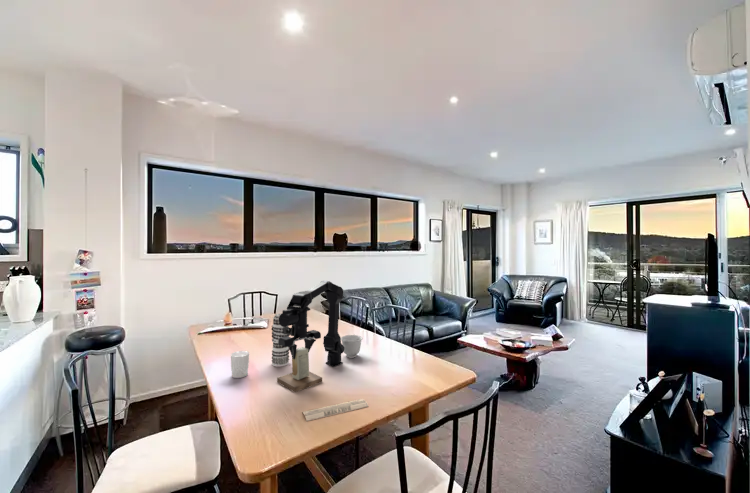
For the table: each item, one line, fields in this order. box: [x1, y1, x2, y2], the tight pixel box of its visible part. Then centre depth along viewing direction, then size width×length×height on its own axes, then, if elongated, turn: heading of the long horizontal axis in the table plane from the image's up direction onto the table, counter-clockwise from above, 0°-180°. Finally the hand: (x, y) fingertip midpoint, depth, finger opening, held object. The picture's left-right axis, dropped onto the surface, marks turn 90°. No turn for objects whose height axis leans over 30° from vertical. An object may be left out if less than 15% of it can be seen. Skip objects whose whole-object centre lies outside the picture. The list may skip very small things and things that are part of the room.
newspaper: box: [301, 398, 369, 422], centre depth 118 cm, size 24×7×2 cm, turn 117°
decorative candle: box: [270, 313, 291, 367], centre depth 165 cm, size 9×9×25 cm
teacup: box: [340, 334, 363, 359], centre depth 178 cm, size 12×15×10 cm
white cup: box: [230, 350, 250, 379], centre depth 149 cm, size 8×8×10 cm
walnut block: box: [276, 371, 323, 393], centre depth 142 cm, size 14×14×2 cm
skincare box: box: [291, 346, 310, 380], centre depth 142 cm, size 6×4×12 cm
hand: (300, 357), depth 143 cm, fingers closed on skincare box, 6 cm apart
